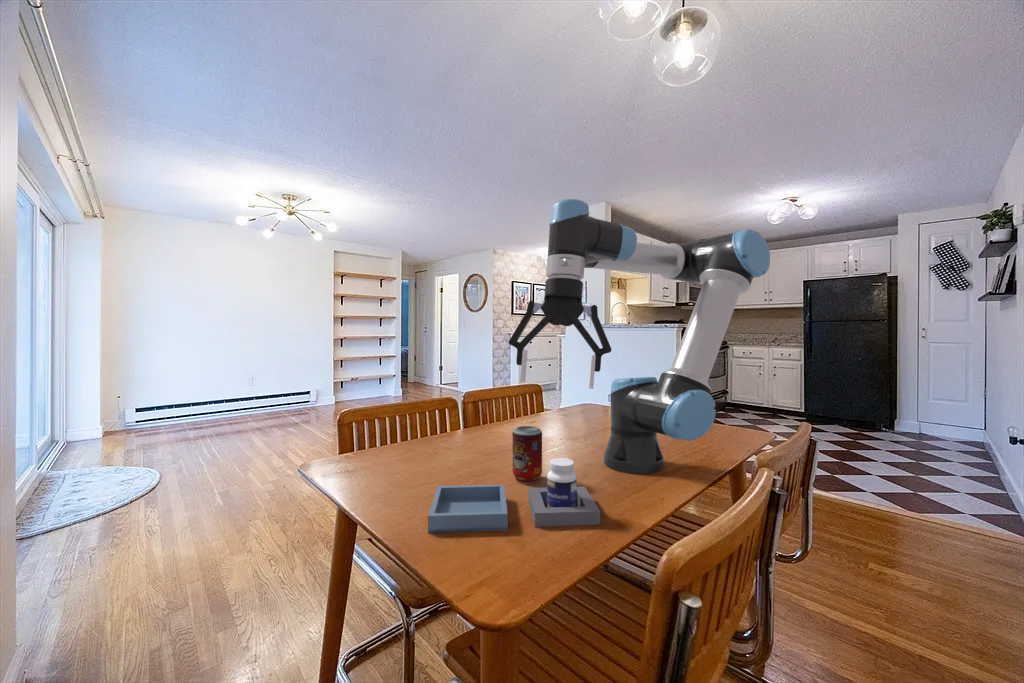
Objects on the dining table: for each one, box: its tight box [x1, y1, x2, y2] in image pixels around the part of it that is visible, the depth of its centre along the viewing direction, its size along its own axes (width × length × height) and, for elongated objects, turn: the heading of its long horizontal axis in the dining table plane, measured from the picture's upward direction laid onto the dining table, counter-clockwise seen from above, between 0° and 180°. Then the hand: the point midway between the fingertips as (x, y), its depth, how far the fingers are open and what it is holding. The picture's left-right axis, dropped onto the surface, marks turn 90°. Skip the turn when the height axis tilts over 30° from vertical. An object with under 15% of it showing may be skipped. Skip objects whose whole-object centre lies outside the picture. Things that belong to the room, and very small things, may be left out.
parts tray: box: [427, 484, 509, 534], centre depth 81 cm, size 14×14×3 cm
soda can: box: [511, 425, 543, 485], centre depth 99 cm, size 7×7×12 cm
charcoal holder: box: [527, 486, 601, 528], centre depth 82 cm, size 12×12×2 cm
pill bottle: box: [546, 457, 578, 508], centre depth 82 cm, size 6×6×10 cm
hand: (556, 385), depth 84 cm, fingers open, 13 cm apart
